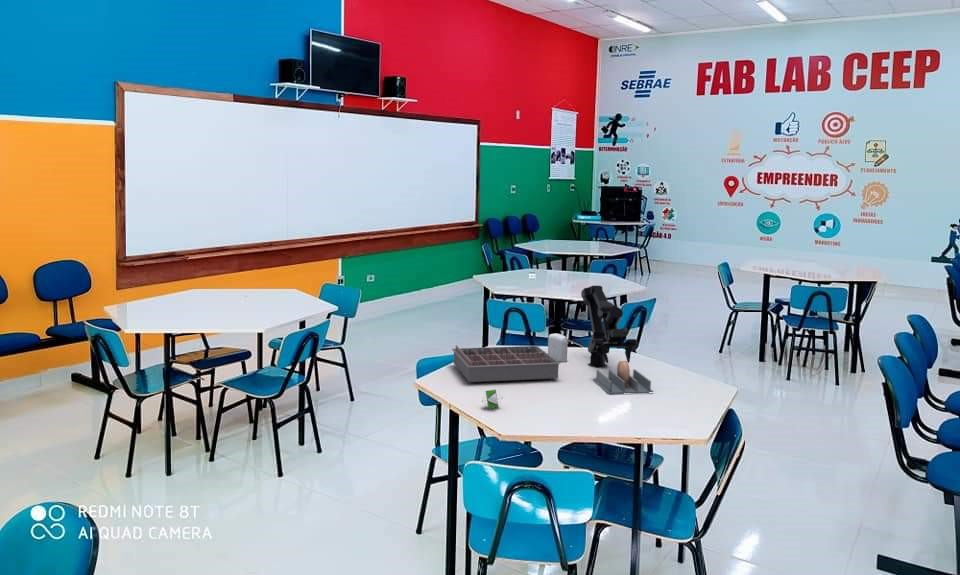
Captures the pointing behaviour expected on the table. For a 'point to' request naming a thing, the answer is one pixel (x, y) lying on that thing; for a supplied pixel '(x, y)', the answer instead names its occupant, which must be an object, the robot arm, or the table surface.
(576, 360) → the table surface
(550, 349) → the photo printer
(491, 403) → the geometric puzzle
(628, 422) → the table surface
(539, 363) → the organizer tray
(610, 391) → the dish rack
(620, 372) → the peach disc
